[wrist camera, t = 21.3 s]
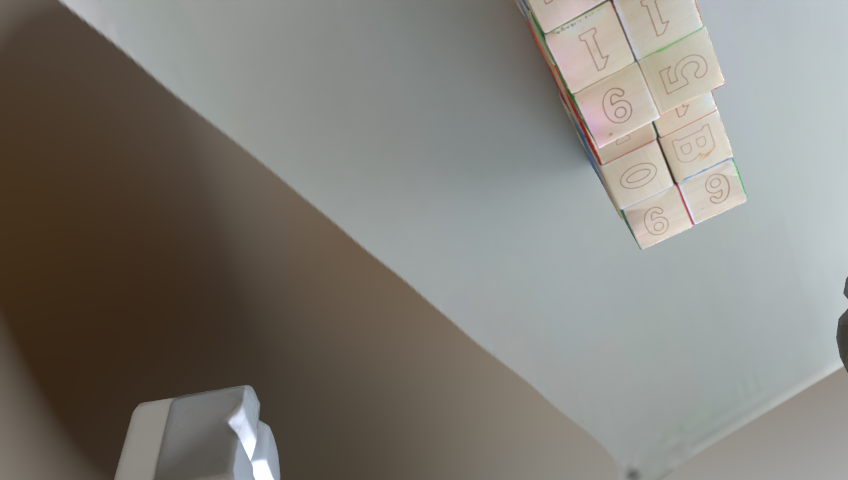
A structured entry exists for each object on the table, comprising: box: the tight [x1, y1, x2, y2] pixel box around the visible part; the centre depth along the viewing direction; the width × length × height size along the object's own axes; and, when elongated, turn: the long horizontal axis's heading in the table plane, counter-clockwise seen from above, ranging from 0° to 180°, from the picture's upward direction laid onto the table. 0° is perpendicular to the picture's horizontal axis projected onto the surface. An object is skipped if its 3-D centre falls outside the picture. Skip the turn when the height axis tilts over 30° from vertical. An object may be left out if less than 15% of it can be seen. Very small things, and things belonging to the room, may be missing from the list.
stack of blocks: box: [514, 0, 747, 250], centre depth 39 cm, size 21×6×12 cm, turn 27°
